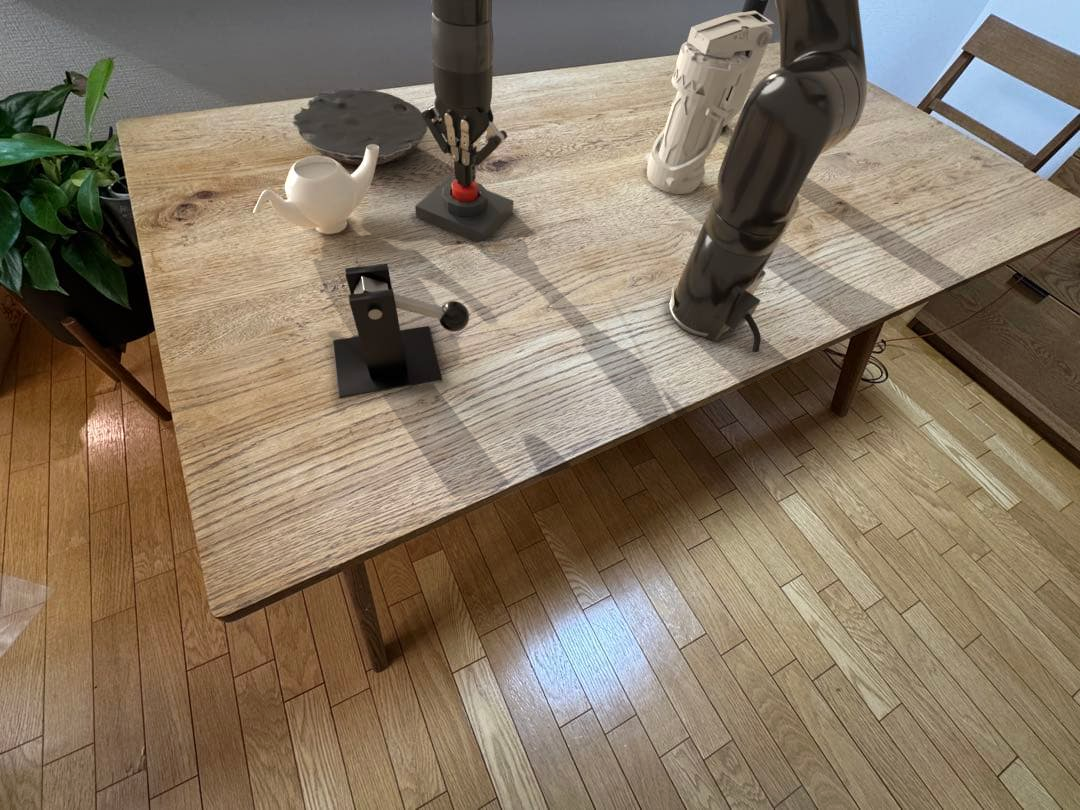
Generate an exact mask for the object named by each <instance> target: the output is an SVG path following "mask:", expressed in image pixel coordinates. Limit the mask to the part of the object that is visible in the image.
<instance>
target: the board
mask: <svg viewBox="0 0 1080 810" xmlns="http://www.w3.org/2000/svg"><path fill="white" fill-rule="evenodd" d="M307 107H308V108H304V107H300V112H298V113H296V114H294V115H293V121H292V125H293V126H294V127H295V128H296V130H297V131H298V133H299V136H300V137H301V138H302V140H304V141H305V142H306V143H307V144H309V145H310V146H311V147H312V148H314V150H316V151H318V152H319V153H320V154H322V155H323V156H325V157H329V158H331V159H334V160H335V161H337V162H338V163H340V164H349V165H353V166H360V165H361V163H362V161H363V159H364V155H365V151H366V147H367V146H368V145H370V144H375V145H377V146H378V147H379V154H378V158H377V162H376V165H383V164H385V163H387V162H393V161H400V160H402V159H403V158H404V156H405V155H409V154H411V153H412V152H413V151H414V150H415V149H417V147H418V146H419V145H420V143H421V142H423V140H424V138H425V136H427V133H428V130H429V128H428V126H427V124H426V123H425V121H424V119H423V118H422V112H423V111H421V110H420V109H419V108H418V107H416V106H415V105H414V104H412V103H410V102H408V101H405V100H404V99H402V98H400V97H398V96H395V95H393V94H391V93H388V92H382V91H378V90H376V89H368V88H367V89H366V88H351V89H346V88H338V89H335V90H334V91H332V92H328V91H327V92H326V91H325V92H320V93H318V94H317V95H315V96H314V97H313V98H311V99H309V101H308V102H307Z"/></svg>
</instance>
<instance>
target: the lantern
mask: <svg viewBox="0 0 1080 810" xmlns="http://www.w3.org/2000/svg"><path fill="white" fill-rule="evenodd" d="M752 14H758V15H759V13H758V12H756V11H750V12H742V11H741V12H735V13H729V14H725V15H722V16H719V17H716V18H714V19H710V20H707V21H704V22H701V23H699V24H696V25H693V26H691V27H690V30H689V33H688V37H687V40H686V41H685V42H684V43H682V44H681V46H680V50H679V53H678V57H677V60H676V64H675V67H674V70H673V74H672V77H671V84H672V86H673V88H674V89H675V93H674V96H673V100H672V103H671V107H670V109H669V110H670V111H669V113H668V117H667V119H666V124H665V126H664V128H663V130H662V131H660V133H659V134H658V136H657V137H656V139H655V141H654V143H653V146H652V148H651V150H650V151H648V152H646V153H645V155H644V156H643V160H644V161H645V162H646V163H647V167H646V176H647V179H648V181H649V182H650V184H652V185H653V186H654V187H655V188H657V189H659V190H661V191H663V192H665V193H669V194H674V195H686V194H687V195H688V194H690V193H692V192H694V191H696V189H697V188H699V187H698V186H700V184H701V182H702V180H703V178H704V177H705V174H706V170H705V165H706V160H707V158H708V157H709V155H710V154H711V153H712V151H713V150H714V148H715V147H716V145H717V143H718V141H719V139H720V136H721V134H722V132H721V131H722V128H723V127H724V126H726V125H727V126H728V124H729V123H730V122H731V121H732V120H733V119H734V118H735V117H736V115H737V114H738V113H740V112H741V111H742V109H743V107H744V105H745V103H746V100H747V96H748V94H749V92H750V90H751V88H752V85H753V82H754V79H755V77H756V75H757V72H758V69H759V68H760V65H761V63H762V60H763V57H764V55H765V53H766V50H767V48H768V45H769V43H770V41H771V37H772V35H773V28H772V27H770V26H771V25H772V26H773V25H775V22H774V21H772V20H770V19H769V18H767V16H764V15H763V16H762V15H761V14H760V16H761V17H762V19H764V20H766V21H759V20H758V19H756V18H755V17H753V16H751V15H752ZM747 50H750V52H749V55H748V57H746V56H745V51H747ZM733 85H734V86H733ZM732 86H733V89H732V91H731V94H730V96H729V99H728V102H727V101H726V98H727V97H728V94H729V92H730V89H731V87H732Z"/></svg>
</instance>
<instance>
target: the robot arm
mask: <svg viewBox="0 0 1080 810" xmlns="http://www.w3.org/2000/svg"><path fill="white" fill-rule="evenodd" d="M430 2H431V28H430V39H431V53H432V72H433V89H434V90H433V91H434V94H435V98H434V102H433V103H434V104H432V105H430V106H428V107H427V108H425V109H424V110H423V111H421V112H422V118H423V119H424V121H425V123H426V124H427V126H428V130H429V131H430V133H431V135H432V136H433V138H434V139H435V142H436V143H437V145H438V147H439V149H440V150H441V152H442V154H449V155H450V156H451V159H452V160H453V167H454V178H456V180H457V183H458V184H459V185H462V186H464V187H468V186H469V185H470V184H471V183H472V182H473V181H474V180H475V181H476V177H477V176H476V175H477V173H476V170H477V169H476V166H480V165H481V164H482V163H483V162H484V161H485V160H486V159H488V157H490V156H491V154H492V153H493V152H495V151H496V150H497V149H498V147H499V146H501V145H502V143H503V142H505V141H506V140H507V138H508V133H507V132H506V131H505V130H503V129H502V130H499V129H498V127H497V126H496V124H495V123H494V114H493V111H492V108H491V103H492V99H493V74H494V73H493V72H494V71H493V70H494V30H493V12H492V11H493V0H430ZM774 3H775V9H776V13H777V22H778V23H777V24H778V32H779V33H778V34H779V49H780V50H779V52H780V53H779V54H780V55H779V57H780V60H779V62H780V65H779V67H780V68H777V69H775V70H773V71H771V72H770V73H768V74H767V75H765V76H764V77H763V78H762V79H760V81H759V82H758V83H757V84H756V85H755V87H754V88H753V89H752V91H751V92H750V94H749V96H748V98H746V100H745V102H744V104H743V107H742V109H741V110H740V114H739V116H738V118H737V121H736V124H735V126H734V129H733V131H732V135H731V137H730V139H729V143H728V144H727V145H728V146H727V148H726V150H725V154H724V156H723V159H722V162H721V164H720V167H719V171H718V176H717V191H716V193H715V195H714V199H713V201H712V203H711V206H710V208H709V211H708V213H707V215H706V217H705V220H704V222H703V224H702V227H701V229H700V231H699V234H698V236H697V238H696V240H695V243H694V245H693V248H692V250H691V251H690V254H689V257H688V259H687V261H686V264H685V266H684V269H683V271H682V273H681V276H680V278H679V280H678V283H677V285H676V287H675V285H673V287H672V289H671V298H670V300H669V303H668V312H669V315H670V317H671V319H672V320H673V322H675V324H676V325H677V326H679V327H680V328H681V329H683V330H684V331H685V332H687V333H689V334H691V335H694V336H698V337H703V338H707V339H709V340H710V341H712V342H716V340H718V339H719V338H720V337H721V336H722V335H724V334H726V333H727V332H728V331H729V330H730V329H731V330H733V331H736V330H737V329H738V328H740V326H742V325H743V324H744V323H745V322H746V323H747V324H748V326H749V328H750V330H751V332H752V335H753V344H752V353H759V352H760V347H761V342H762V341H761V340H762V338H761V333H760V329H759V327H758V325H757V323H756V321H755V320H754V317H753V316H752V315H753V314H754V313H755V311H756V309H757V308H758V306H759V304H760V303H761V299H760V298H758V297H756V296H755V295H754V294H755V292H757V290H758V287H759V286H760V284H761V283H762V281H763V279H764V277H765V276H766V271H765V270H764V269H765V267H766V265H767V264H768V262H769V260H770V258H771V257H772V255H773V253H774V252H775V250H776V248H777V247H778V245H779V243H780V242H781V240H782V238H783V236H784V235H785V233H786V232H787V230H788V228H789V227H790V225H791V223H792V221H793V219H795V216H796V215H797V212H798V210H799V207H800V199H799V195H798V194H799V192H800V190H801V188H802V186H803V185H804V183H805V181H806V179H807V177H808V176H809V174H810V172H811V170H812V168H813V166H814V165H815V163H816V162H817V159H818V158H819V157H820V155H821V156H822V155H823V154H825V153H826V152H828V151H829V150H831V149H832V148H834V147H835V146H837V145H839V144H840V143H841V142H843V141H844V140H845V139H846V138H847V137H848V136H849V135H850V134H851V133H852V132H853V131H854V129H855V128H856V126H857V125H858V123H859V122H860V120H861V118H862V115H863V112H864V109H865V107H866V103H867V98H868V97H867V95H868V76H867V74H868V73H867V64H866V56H865V55H866V54H865V47H864V40H863V31H862V22H861V21H862V20H861V11H860V4H859V3H860V1H859V0H774ZM485 133H486V136H485V140H484V141H485V143H486V144H485V145H484V146H483V147H482V148H481V149H480V150H479V145H480V142H481V137H482V136H483V135H484V134H485Z"/></svg>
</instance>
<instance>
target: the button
mask: <svg viewBox="0 0 1080 810" xmlns="http://www.w3.org/2000/svg"><path fill="white" fill-rule="evenodd" d="M477 183H478V182H477V181H476V179H475V180H474V181H473V182H472V183H471V184H470V185H469V186H468V187H464V186H462V185H459V184H458V183H457V180H454V181H453V182H452V196H453V198H454V199H456V200H458V201H460V202H471V201H474V200H476V199H477V198H478V184H477Z"/></svg>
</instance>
